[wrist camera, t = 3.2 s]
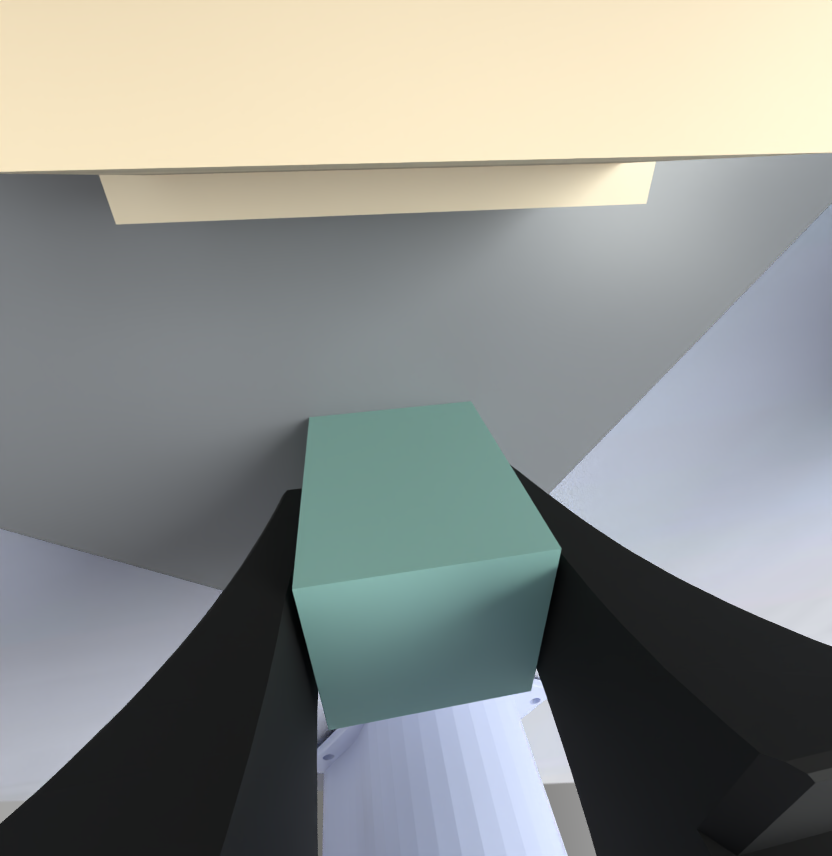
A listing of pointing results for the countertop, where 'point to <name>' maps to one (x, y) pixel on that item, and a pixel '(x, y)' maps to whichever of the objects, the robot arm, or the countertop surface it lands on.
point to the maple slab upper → (407, 83)
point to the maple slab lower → (371, 191)
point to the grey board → (340, 340)
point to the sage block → (417, 564)
